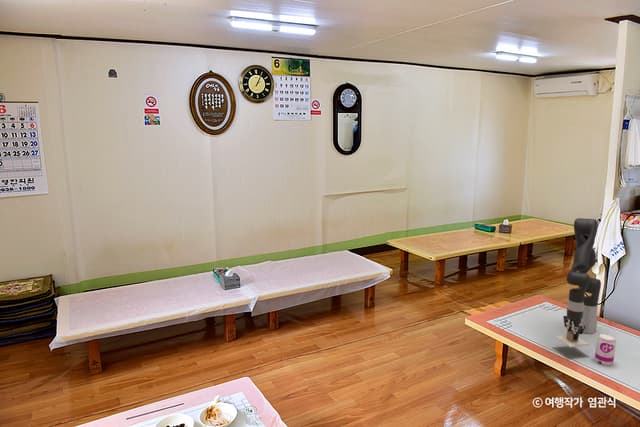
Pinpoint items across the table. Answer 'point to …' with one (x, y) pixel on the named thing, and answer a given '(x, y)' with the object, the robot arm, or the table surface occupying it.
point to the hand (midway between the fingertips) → (572, 337)
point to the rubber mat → (570, 352)
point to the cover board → (572, 344)
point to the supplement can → (605, 349)
